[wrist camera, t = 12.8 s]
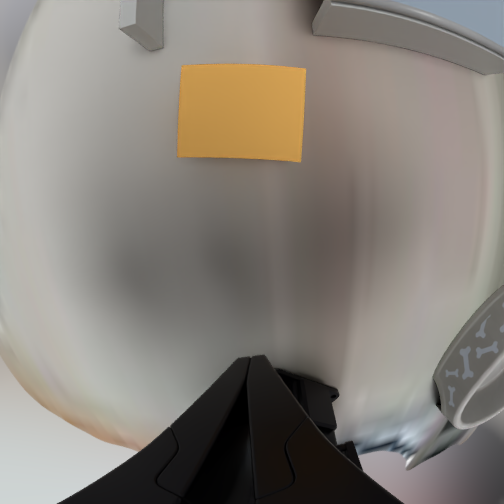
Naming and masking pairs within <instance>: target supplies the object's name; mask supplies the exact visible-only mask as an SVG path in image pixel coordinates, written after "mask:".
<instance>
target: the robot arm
mask: <svg viewBox="0 0 504 504" xmlns="http://www.w3.org/2000/svg"><path fill="white" fill-rule="evenodd" d="M279 375H280V376H279ZM338 397H339V392H338V390H336V389H333V388H330V387H327V386H325V385H322V384H319V383H316V382H313V381H310V380H308V379H305V378H302V377H299V376H297V375H294V374H291V373H289V372H286V371H284V370H281V369H277V370H275V369H274V368H273V366H272V365H271V363H270V362H269V360H268V359H267V357H266V356H265V355H257V356H252V357H242V358H238V359H236V360H235V361H234V362H233V364H232V365H231V366H230V367H229V368H228V369H227V370H226V371H225V372H224V373H223V374H222V375H221V376H220V377H219V378H218V379H217V380H216V381H215V382H214V383H213V384H212V385H211V386H210V387H209V388H208V389H207V390H206V391H205V392H204V393H203V394H202V395H201V396H200V397H199V398H198V399H197V400H196V401H195V402H194V403H193V404H192V405H191V406H190V407H189V408H188V409H187V410H186V411H185V412H184V413H183V414H182V415H181V416H180V417H179V418H178V419H177V420H176V421H175V422H174V423H172V424H171V425H170V427H171V428H170V427H168V428H167V429H165V430H164V431H163V432H162V433H161V434H160V435H159V436H158V437H157V438H155V439H154V440H153V441H152V442H151V443H150V444H148V445H147V446H146V447H145V448H143V449H142V450H141V451H139V452H138V453H137V454H135V455H134V456H133V457H131V458H130V459H128V460H127V461H126V462H124V463H123V464H121V465H120V466H118V467H117V468H115V469H114V470H112V471H111V472H109V473H108V474H106V475H104V476H103V477H102V478H100V479H98V480H97V481H95V482H93V483H92V484H90V485H89V486H87V487H86V488H84V489H82V490H80V491H79V492H77V493H75V494H73V495H72V496H70V497H68V498H66V499H65V500H63V501H61V502H59V503H57V504H404V503H403V502H401V501H400V500H399V499H397V498H396V497H395V496H393V495H392V494H391V493H389V492H388V491H387V490H385V489H384V488H383V487H382V486H380V485H379V484H378V483H377V482H375V481H374V480H373V479H372V478H370V477H369V476H368V475H367V474H366V473H364V472H363V469H362V467H361V464H360V461H359V458H358V455H357V452H356V449H355V446H354V443H353V441H348V442H345V443H344V444H340V445H337V441H336V437H335V432H334V430H335V429H336V428H337V424H336V420H335V415H334V411H333V407H332V402H333V401H335V400H336V399H337V398H338Z"/></svg>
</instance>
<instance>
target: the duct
mask: <svg viewBox="0 0 504 504" xmlns="http://www.w3.org/2000/svg"><path fill="white" fill-rule="evenodd" d="M119 29H120V30H121V31H123V32H124V33H125V34H127V35H128V36H130V37H131V38H132V39H134V40H135V41H137V42H138V43H139V44H141V45H142V46H143V47H145V48H146V49H147V50H149V51H152V50H156V49H160V48H163V0H121V2H120V14H119ZM312 29H313V35H318V36H331V37H341V38H350V39H357V40H364V41H370V42H376V43H382V44H387V45H392V46H396V47H401V48H405V49H409V50H413V51H417V52H421V53H424V54H428V55H431V56H435V57H438V58H441V59H444V60H447V61H450V62H453V63H456V64H458V65H461V66H464V67H466V68H469V69H471V70H474V71H476V72H479V73H481V74H483V75H489V74H498V73H504V56H502V55H500V54H499V53H497V52H495V51H493V50H491V49H489V48H488V47H486V46H484V45H482V44H480V43H478V42H475V41H473V40H471V39H469V38H467V37H465V36H462V35H460V34H458V33H455V32H453V31H450V30H448V29H445V28H443V27H440V26H437V25H435V24H432V23H429V22H426V21H423V20H420V19H417V18H413V17H410V16H407V15H403V14H399V13H396V12H392V11H388V10H383V9H379V8H374V7H369V6H364V5H358V4H352V3H346V2H338V1H331V0H324V1H323V3H322V5H321V7H320V9H319V11H318V13H317V14H316V16H315V18H314V20H313V22H312Z"/></svg>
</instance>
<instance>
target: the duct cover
mask: <svg viewBox="0 0 504 504" xmlns="http://www.w3.org/2000/svg"><path fill="white" fill-rule="evenodd" d="M331 1H338V2H346V3H352V4H358V5H364V6H369V7H374V8H379V9H383V10H388V11H392V12H396V13H399V14H403V15H407V16H410V17H413V18H417V19H420V20H423V21H426V22H429V23H432V24H435V25H437V26H440V27H443V28H445V29H448V30H450V31H453V32H455V33H458V34H460V35H462V36H465V37H467V38H469V39H471V40H473V41H475V42H478V43H480V44H482V45H484V46H486V47H488V48H489V49H491V50H493V51H495V52H497V53H499V54H500V55H502V56H504V0H331Z"/></svg>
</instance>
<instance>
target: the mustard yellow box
mask: <svg viewBox="0 0 504 504" xmlns="http://www.w3.org/2000/svg"><path fill="white" fill-rule="evenodd" d="M305 83H306V69H304V68H296V67H286V66H274V65H258V64H199V65H183V66H182V68H181V81H180V96H179V116H178V146H177V157H216V158H247V159H266V160H281V161H294V162H301V152H302V138H303V122H304V104H305Z"/></svg>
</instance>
